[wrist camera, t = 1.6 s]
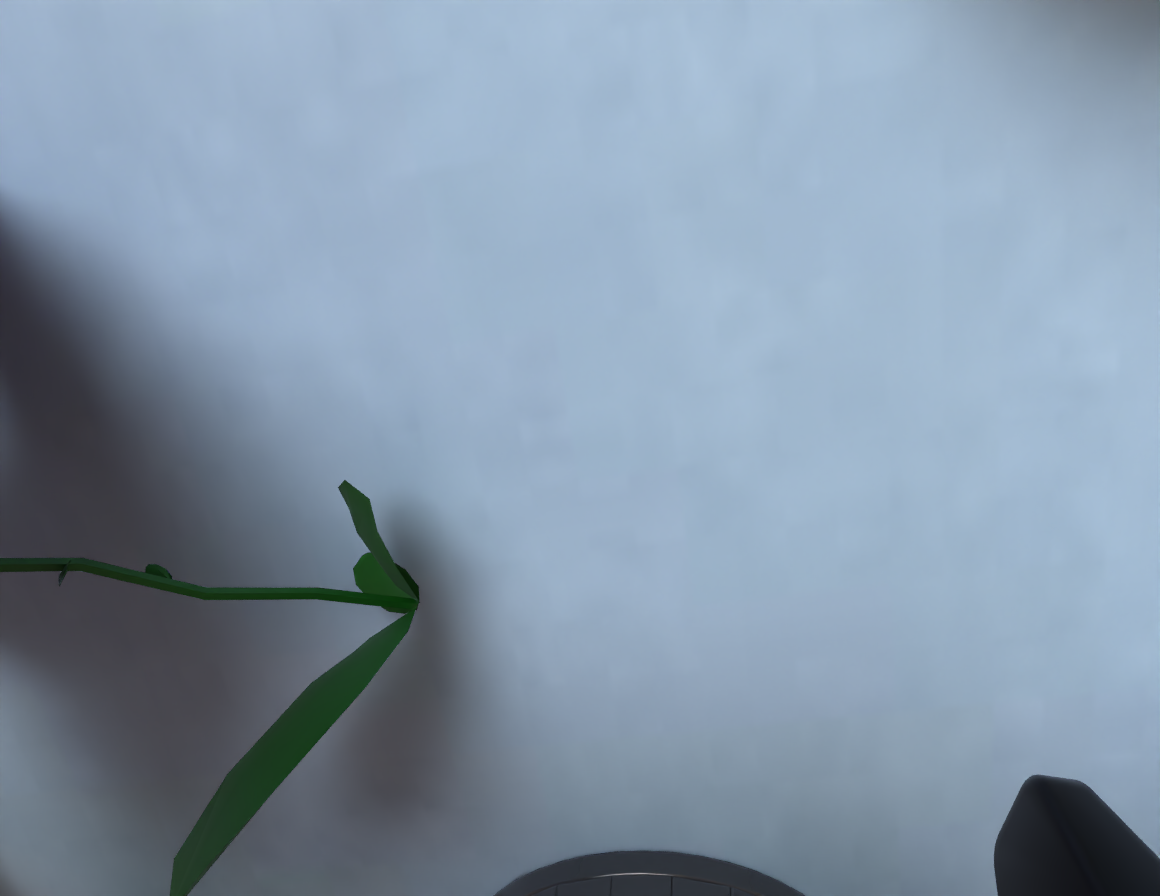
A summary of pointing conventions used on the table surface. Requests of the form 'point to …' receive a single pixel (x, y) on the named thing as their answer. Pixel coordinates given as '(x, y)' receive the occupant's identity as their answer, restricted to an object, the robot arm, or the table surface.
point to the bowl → (646, 877)
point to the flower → (307, 712)
